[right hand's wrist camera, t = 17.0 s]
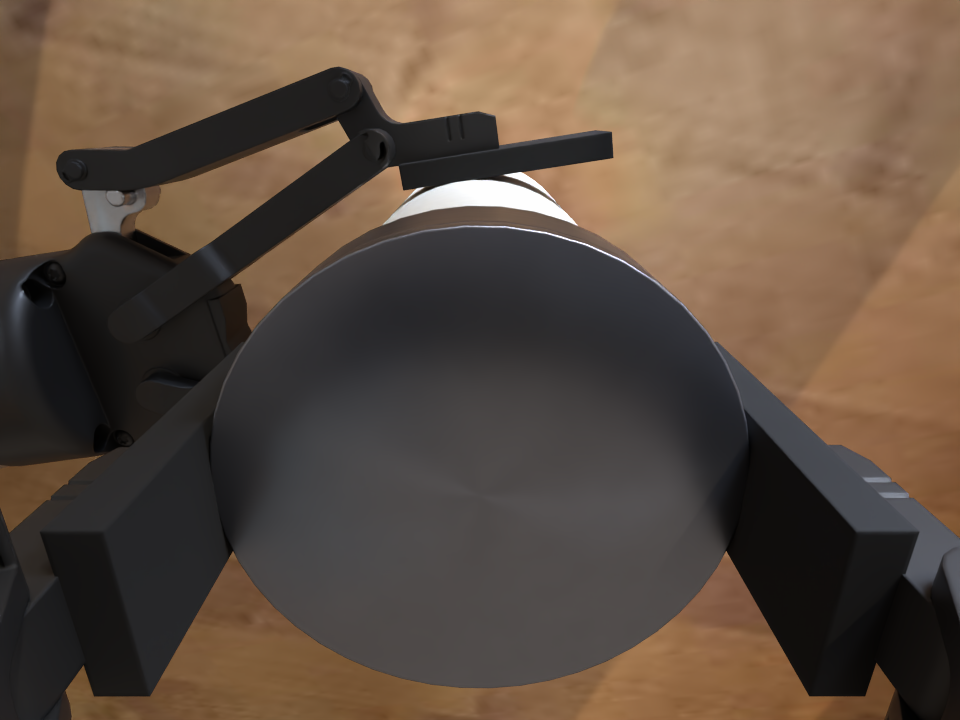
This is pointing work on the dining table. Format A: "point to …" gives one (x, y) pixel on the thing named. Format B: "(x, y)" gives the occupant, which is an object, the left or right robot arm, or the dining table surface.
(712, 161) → the dining table surface
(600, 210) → the dining table surface
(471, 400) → the lid
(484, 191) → the jar
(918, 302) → the dining table surface
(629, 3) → the dining table surface
